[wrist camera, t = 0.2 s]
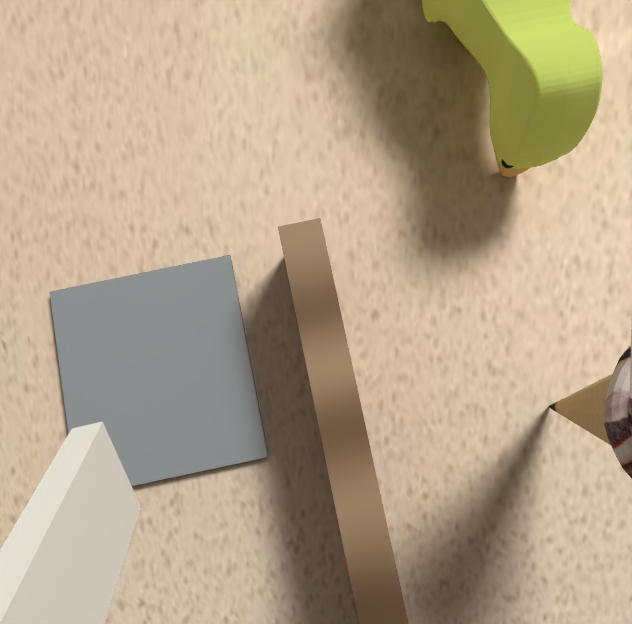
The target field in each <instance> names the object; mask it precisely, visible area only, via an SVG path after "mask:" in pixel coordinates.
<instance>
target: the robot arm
mask: <svg viewBox="0 0 632 624" xmlns="http://www.w3.org/2000/svg"><path fill="white" fill-rule="evenodd" d="M630 398H631V399H632V330H631V364H630ZM140 508H141V506H140V504H139V502H138V499H137V497H136V495H135V493H134V490H133V488H132V486H131V484H130V482H129V479H128V477H127V475H126V473H125V470H124V468H123V466H122V464H121V461H120V459H119V457H118V455H117V453H116V450H115V448H114V446H113V444H112V441H111V439H110V437H109V435H108V433H107V430H106V428H105V426H104V424H103V422H99V423H94V424H90V425H85V426H81V427H76V428H72V429H71V431H70V433H69V434H68V436H67V438H66V440H65V441H64V443H63V445H62V446H61V448H60V450H59V451H58V453H57V455H56V457H55V458H54V460H53V462H52V463H51V465H50V467H49V468H48V470H47V472H46V474H45V475H44V477H43V479H42V480H41V482H40V484H39V485H38V487H37V489H36V491H35V492H34V494H33V496H32V497H31V499H30V501H29V502H28V504H27V506H26V508H25V509H24V511H23V513H22V514H21V516H20V518H19V519H18V521H17V523H16V524H15V526H14V528H13V530H12V531H11V533H10V535H9V536H8V538H7V540H6V541H5V543H4V545H3V547H2V548H1V550H0V624H105V620H106V617H107V614H108V611H109V607H110V604H111V601H112V598H113V595H114V591H115V588H116V585H117V582H118V579H119V575H120V572H121V569H122V566H123V563H124V559H125V556H126V553H127V550H128V547H129V543H130V540H131V537H132V534H133V531H134V527H135V524H136V521H137V518H138V515H139V511H140Z"/></svg>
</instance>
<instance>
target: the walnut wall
mask: <svg viewBox="0 0 632 624" xmlns="http://www.w3.org/2000/svg"><path fill="white" fill-rule="evenodd" d="M278 230H279V235H280V240H281V245H282V249H283V254H284V259H285V264H286V269H287V274H288V279H289V284H290V289H291V294H292V298H293V303H294V308H295V313H296V318H297V323H298V328H299V333H300V338H301V342H302V347H303V352H304V357H305V362H306V367H307V372H308V377H309V382H310V386H311V391H312V396H313V401H314V406H315V411H316V416H317V421H318V426H319V431H320V435H321V440H322V445H323V450H324V455H325V460H326V465H327V470H328V475H329V479H330V484H331V489H332V494H333V499H334V504H335V509H336V514H337V519H338V524H339V528H340V533H341V538H342V543H343V548H344V553H345V558H346V563H347V568H348V572H349V577H350V582H351V587H352V592H353V597H354V602H355V607H356V612H357V617H358V621H359V624H408V619H407V615H406V610H405V606H404V601H403V596H402V592H401V587H400V583H399V578H398V574H397V569H396V564H395V560H394V555H393V551H392V546H391V541H390V537H389V532H388V528H387V523H386V518H385V514H384V509H383V505H382V500H381V495H380V491H379V486H378V482H377V477H376V472H375V468H374V463H373V459H372V454H371V449H370V445H369V440H368V436H367V431H366V426H365V422H364V417H363V413H362V408H361V403H360V399H359V394H358V390H357V385H356V380H355V376H354V371H353V367H352V362H351V358H350V353H349V348H348V344H347V339H346V335H345V330H344V325H343V321H342V316H341V312H340V307H339V302H338V298H337V293H336V289H335V284H334V279H333V275H332V270H331V266H330V261H329V256H328V252H327V247H326V243H325V238H324V233H323V229H322V224H321V220H320V218H318V219H314V220H309V221H304V222H299V223H294V224H289V225H284V226H279V227H278Z"/></svg>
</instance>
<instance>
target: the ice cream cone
mask: <svg viewBox="0 0 632 624" xmlns="http://www.w3.org/2000/svg"><path fill="white" fill-rule="evenodd" d="M630 364H631V346H630V347H629V348H628V349H627V350H626V351H625V352H624V354H623V355H622V356H621V357H620V359H619V361H618V363H617V365H616V368H615V370H614V372H613V374H611V375H609V376H607V377H605V378H603V379H601V380H599V381H597V382H595V383H594V384H592V385H590V386H588V387H586V388H584V389H582V390H580V391H578V392H576V393H574V394H572V395H570V396H568V397H566V398H564V399H562V400H560V401H558V402H556V403H554V404H552V405H550V406H549V408H551V409H553V410H554V411H556V412H558V413H559V414H561V415H562V416H564V417H566V418H567V419H569V420H571V421H572V422H574V423H575V424H577V425H579V426H580V427H582V428H584V429H585V430H587V431H589V432H590V433H592V434H593V435H595V436H597V437H598V438H600V439H602V440H603V441H605V442H606V443H608V444H610V445H611V446H612V448H613V450H614V453H615V455H616V457H617V458H618V460H619V462H620V464H621V466H622V468H623V469H624V470H625V471H626V473H627V474H628V475H629V476H630V477H631V478H632V399H631V398H630Z"/></svg>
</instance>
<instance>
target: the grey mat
mask: <svg viewBox="0 0 632 624" xmlns="http://www.w3.org/2000/svg"><path fill="white" fill-rule="evenodd" d="M50 299H51V307H52V314H53V322H54V329H55V337H56V344H57V352H58V359H59V367H60V374H61V382H62V389H63V397H64V404H65V412H66V419H67V427H68V434H69V433H70V431H71V429H72V428H76V427H81V426H85V425H90V424H94V423H99V422H103V424H104V426H105V428H106V430H107V433H108V435H109V437H110V439H111V441H112V444H113V446H114V448H115V450H116V453H117V455H118V457H119V459H120V461H121V464H122V466H123V468H124V470H125V473H126V475H127V477H128V479H129V482H130V484H131V486H134V485H139V484H144V483H148V482H153V481H158V480H162V479H167V478H172V477H177V476H181V475H186V474H191V473H195V472H200V471H205V470H210V469H214V468H219V467H224V466H228V465H233V464H238V463H242V462H247V461H252V460H257V459H261V458H266V457H268V452H267V446H266V441H265V436H264V430H263V425H262V420H261V414H260V409H259V404H258V399H257V393H256V388H255V383H254V377H253V372H252V367H251V361H250V356H249V351H248V346H247V340H246V335H245V330H244V324H243V319H242V314H241V308H240V303H239V298H238V292H237V287H236V282H235V277H234V271H233V266H232V261H231V256H230V255H227V256H223V257H218V258H213V259H208V260H203V261H198V262H193V263H188V264H183V265H179V266H174V267H169V268H164V269H159V270H154V271H149V272H144V273H140V274H135V275H130V276H125V277H120V278H115V279H110V280H105V281H100V282H96V283H91V284H86V285H81V286H76V287H71V288H66V289H61V290H57V291H52V292H50Z"/></svg>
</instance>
